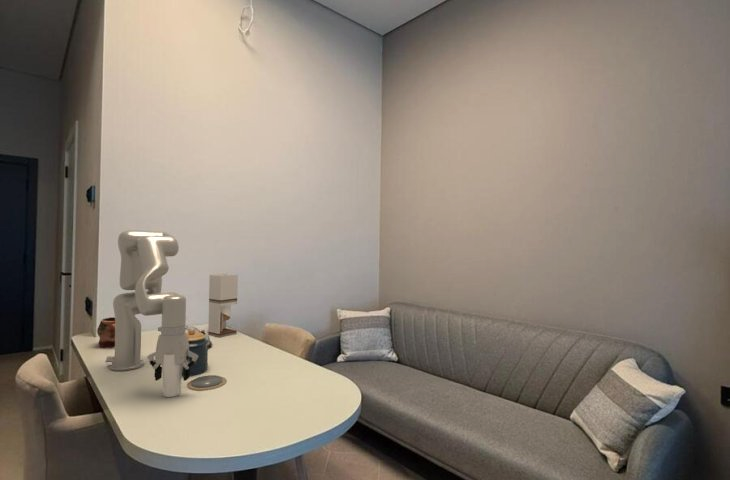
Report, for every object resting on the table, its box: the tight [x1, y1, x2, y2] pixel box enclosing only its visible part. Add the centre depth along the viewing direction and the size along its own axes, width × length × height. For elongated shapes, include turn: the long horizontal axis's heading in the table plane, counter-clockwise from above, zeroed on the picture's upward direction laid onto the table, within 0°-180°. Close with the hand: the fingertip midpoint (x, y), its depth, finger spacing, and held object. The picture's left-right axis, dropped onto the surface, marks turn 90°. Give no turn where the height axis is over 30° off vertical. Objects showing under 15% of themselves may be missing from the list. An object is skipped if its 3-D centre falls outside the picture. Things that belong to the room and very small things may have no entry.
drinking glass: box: [161, 354, 183, 398], centre depth 133 cm, size 7×7×15 cm
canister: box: [182, 329, 209, 377], centre depth 158 cm, size 13×13×18 cm
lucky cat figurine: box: [185, 325, 213, 349], centre depth 191 cm, size 15×12×14 cm
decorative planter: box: [96, 316, 115, 349], centre depth 193 cm, size 20×12×14 cm, turn 50°
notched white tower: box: [207, 273, 239, 339], centre depth 222 cm, size 11×11×35 cm
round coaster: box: [186, 374, 228, 391], centre depth 144 cm, size 14×14×1 cm
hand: (172, 379), depth 133 cm, fingers open, 9 cm apart
